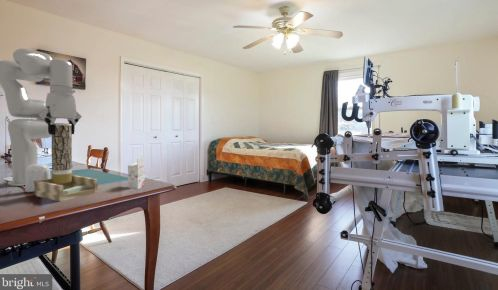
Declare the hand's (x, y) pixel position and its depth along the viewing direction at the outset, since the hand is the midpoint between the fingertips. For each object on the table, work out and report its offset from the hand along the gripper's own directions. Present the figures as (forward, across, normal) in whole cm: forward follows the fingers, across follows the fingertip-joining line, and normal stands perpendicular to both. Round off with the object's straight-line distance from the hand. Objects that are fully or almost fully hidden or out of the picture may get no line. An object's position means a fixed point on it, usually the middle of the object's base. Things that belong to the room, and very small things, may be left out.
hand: (61, 133), depth 109 cm
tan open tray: (+26, 0, +4) cm, 26 cm away
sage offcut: (+24, 0, +8) cm, 25 cm away
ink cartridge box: (+26, -26, +15) cm, 40 cm away
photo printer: (+27, +2, -13) cm, 30 cm away
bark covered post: (+21, 0, 0) cm, 21 cm away
